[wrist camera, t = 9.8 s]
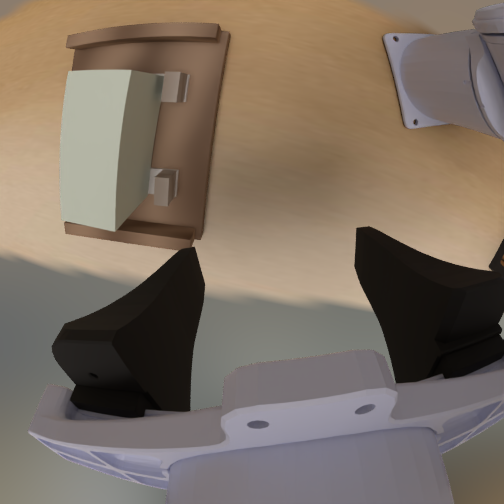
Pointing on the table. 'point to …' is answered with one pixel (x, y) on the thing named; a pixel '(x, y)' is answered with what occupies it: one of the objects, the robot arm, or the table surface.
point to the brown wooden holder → (165, 122)
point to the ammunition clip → (498, 260)
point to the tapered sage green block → (107, 144)
